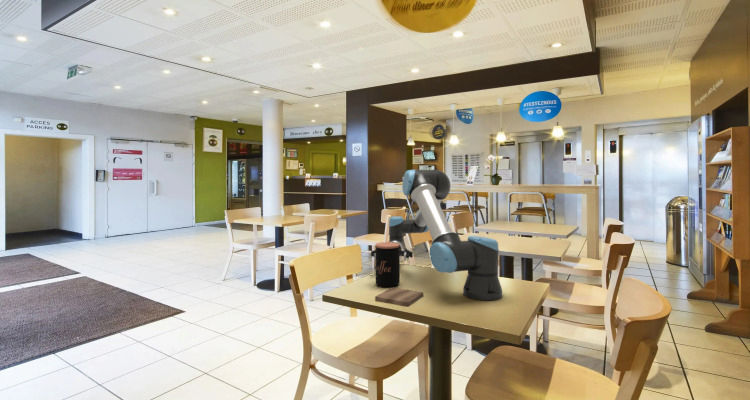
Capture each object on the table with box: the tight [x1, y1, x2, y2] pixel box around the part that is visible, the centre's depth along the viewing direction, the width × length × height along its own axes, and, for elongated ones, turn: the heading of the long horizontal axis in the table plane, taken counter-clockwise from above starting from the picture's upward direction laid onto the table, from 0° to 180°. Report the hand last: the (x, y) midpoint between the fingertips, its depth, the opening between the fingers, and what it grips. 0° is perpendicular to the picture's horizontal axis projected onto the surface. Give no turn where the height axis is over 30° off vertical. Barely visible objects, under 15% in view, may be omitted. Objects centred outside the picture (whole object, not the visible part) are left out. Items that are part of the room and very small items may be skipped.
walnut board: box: [374, 287, 424, 307], centre depth 150 cm, size 14×14×2 cm
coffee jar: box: [374, 241, 401, 289], centre depth 168 cm, size 11×11×18 cm
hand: (389, 257), depth 177 cm, fingers open, 13 cm apart
